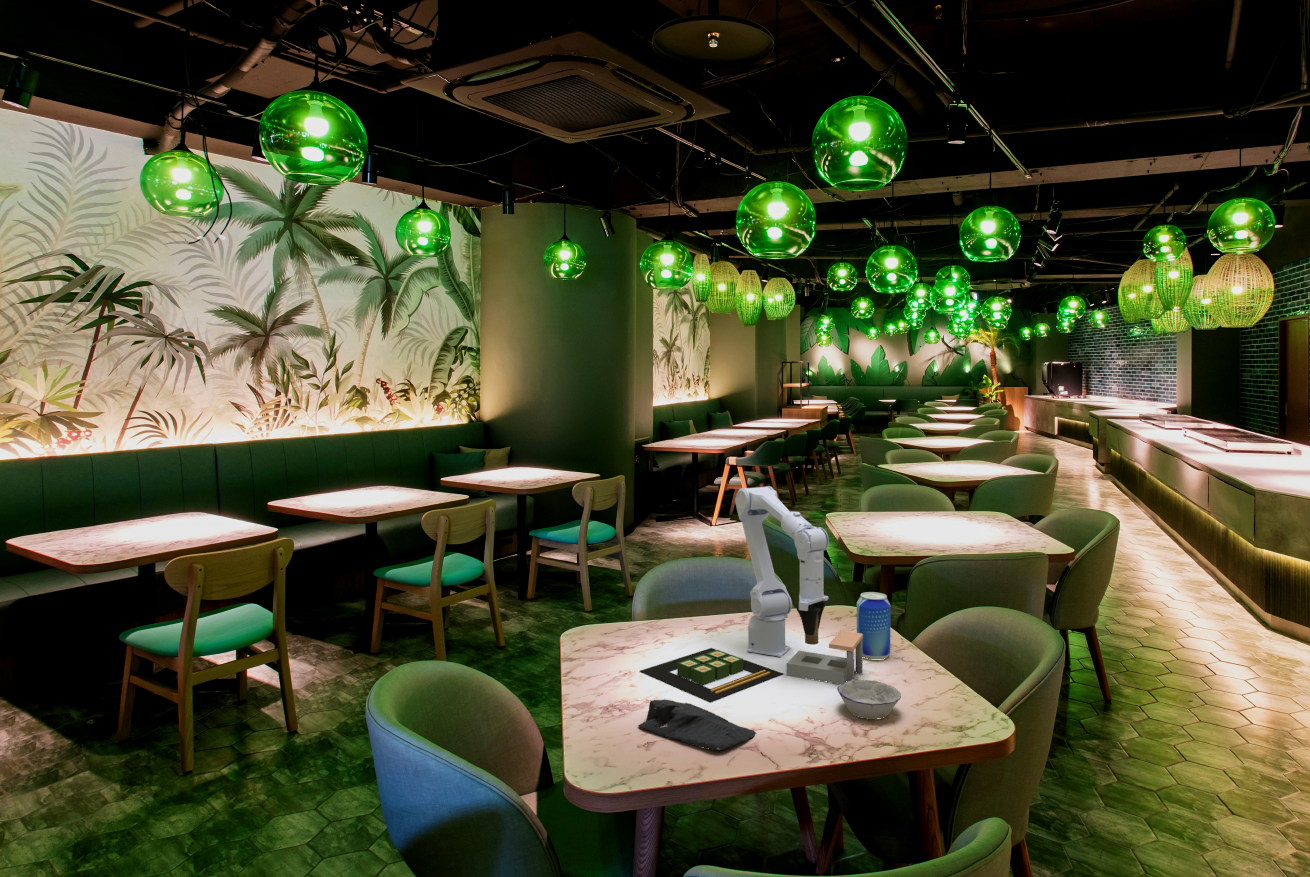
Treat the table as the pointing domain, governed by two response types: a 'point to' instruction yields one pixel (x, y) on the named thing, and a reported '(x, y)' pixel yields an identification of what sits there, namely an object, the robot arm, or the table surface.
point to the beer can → (874, 624)
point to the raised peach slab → (849, 650)
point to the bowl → (868, 698)
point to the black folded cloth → (693, 725)
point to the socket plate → (818, 667)
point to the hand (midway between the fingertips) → (811, 632)
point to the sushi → (710, 674)
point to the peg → (812, 636)
